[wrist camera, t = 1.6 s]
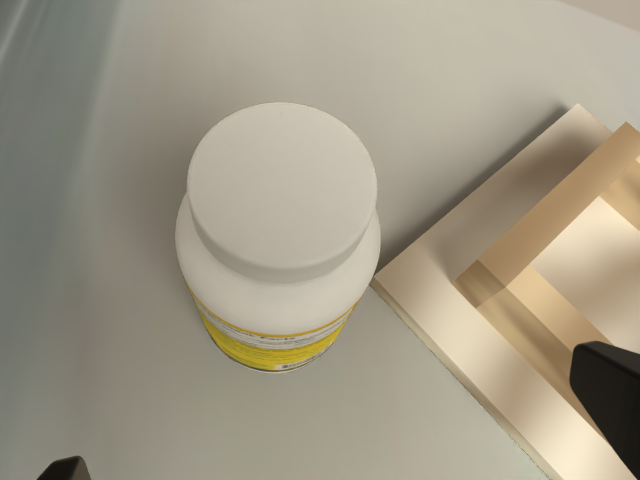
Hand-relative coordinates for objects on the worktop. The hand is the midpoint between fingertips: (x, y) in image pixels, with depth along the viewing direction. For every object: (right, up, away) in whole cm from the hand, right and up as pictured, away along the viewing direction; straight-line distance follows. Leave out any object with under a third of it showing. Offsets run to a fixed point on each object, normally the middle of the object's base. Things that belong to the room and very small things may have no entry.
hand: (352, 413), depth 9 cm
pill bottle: (-3, 0, +13) cm, 14 cm away
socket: (+13, 0, +15) cm, 20 cm away
